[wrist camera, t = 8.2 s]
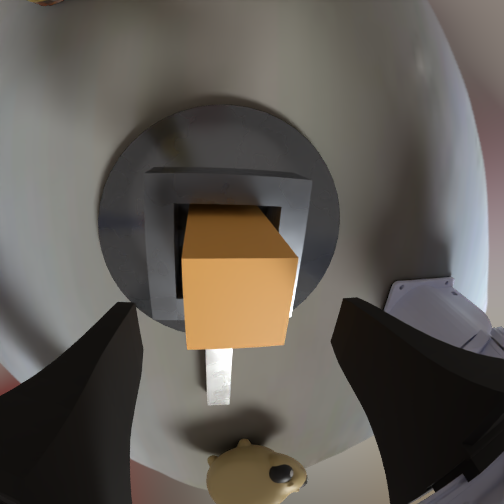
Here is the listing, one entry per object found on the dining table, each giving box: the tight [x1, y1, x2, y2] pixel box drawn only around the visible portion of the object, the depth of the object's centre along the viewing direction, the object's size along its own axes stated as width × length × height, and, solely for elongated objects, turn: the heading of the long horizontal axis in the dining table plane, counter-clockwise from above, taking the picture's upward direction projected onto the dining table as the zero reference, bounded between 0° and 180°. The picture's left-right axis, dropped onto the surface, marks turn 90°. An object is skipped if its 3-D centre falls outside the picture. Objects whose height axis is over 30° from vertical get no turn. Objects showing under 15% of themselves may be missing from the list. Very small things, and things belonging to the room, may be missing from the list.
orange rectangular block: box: [182, 204, 299, 350], centre depth 14 cm, size 4×4×8 cm
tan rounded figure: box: [206, 439, 308, 504], centre depth 25 cm, size 10×12×11 cm
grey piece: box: [98, 105, 340, 405], centre depth 18 cm, size 16×24×4 cm, turn 175°
